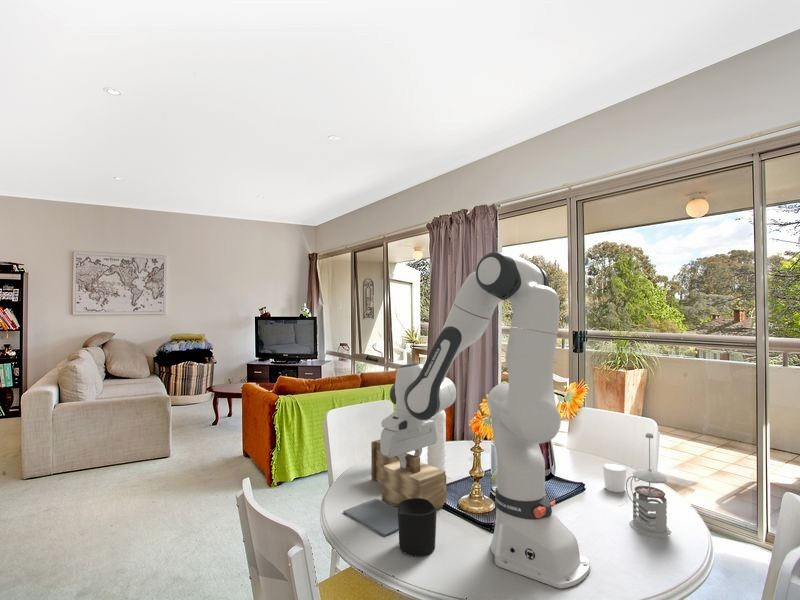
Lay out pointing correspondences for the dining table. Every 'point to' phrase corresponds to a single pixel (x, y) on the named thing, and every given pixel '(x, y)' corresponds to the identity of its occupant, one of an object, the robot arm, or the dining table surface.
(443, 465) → the water bottle
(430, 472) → the lid
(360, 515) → the mat
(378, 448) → the key
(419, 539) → the pen holder
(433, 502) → the wooden open box
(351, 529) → the dining table surface
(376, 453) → the rail
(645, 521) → the french press
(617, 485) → the white cup
